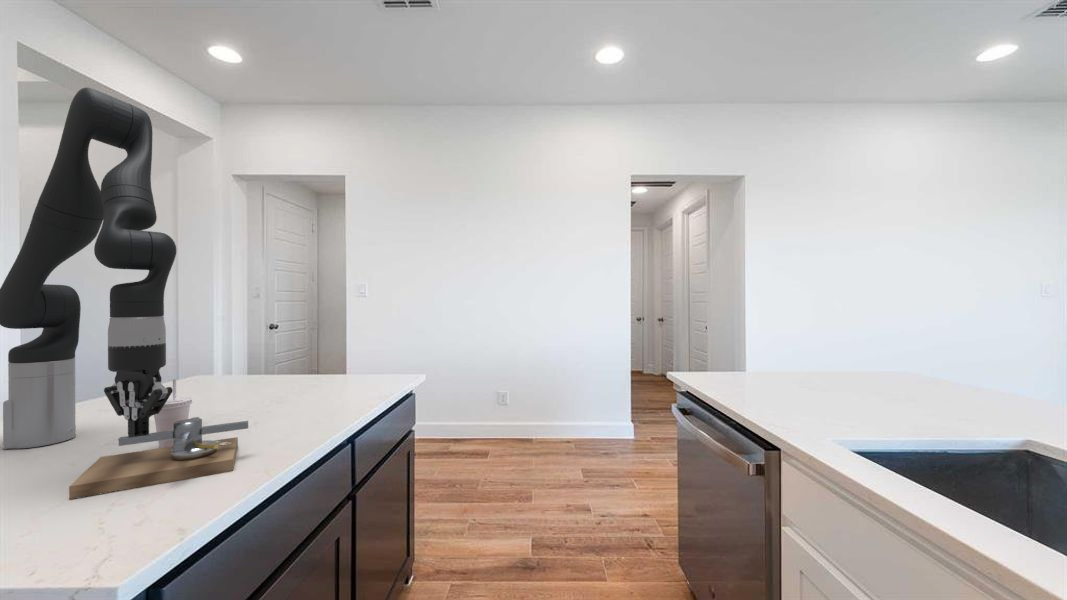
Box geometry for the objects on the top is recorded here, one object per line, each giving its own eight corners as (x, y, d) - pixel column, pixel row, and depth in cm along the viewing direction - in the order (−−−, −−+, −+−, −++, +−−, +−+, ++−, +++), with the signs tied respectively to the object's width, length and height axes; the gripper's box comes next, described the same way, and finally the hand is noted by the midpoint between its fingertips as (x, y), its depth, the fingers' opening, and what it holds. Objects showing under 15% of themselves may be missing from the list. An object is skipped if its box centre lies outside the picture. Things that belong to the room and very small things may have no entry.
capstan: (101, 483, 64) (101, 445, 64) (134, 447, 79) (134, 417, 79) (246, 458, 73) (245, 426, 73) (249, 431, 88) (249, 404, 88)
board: (69, 499, 63) (69, 485, 63) (100, 468, 75) (100, 455, 75) (232, 470, 74) (232, 458, 74) (237, 446, 86) (237, 436, 86)
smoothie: (173, 454, 82) (173, 382, 82) (141, 454, 82) (141, 382, 82) (200, 443, 88) (200, 376, 88) (170, 442, 88) (170, 376, 88)
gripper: (189, 341, 77) (189, 435, 77) (133, 339, 80) (134, 430, 80) (142, 345, 70) (143, 449, 70) (83, 343, 73) (84, 444, 73)
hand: (138, 439), depth 75 cm, fingers closed
